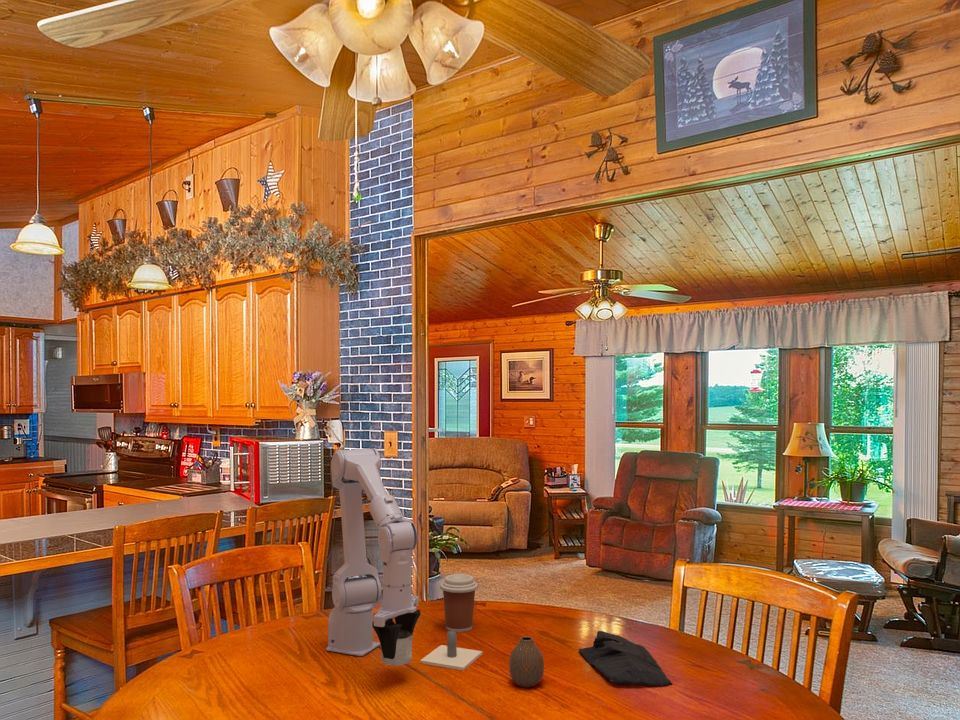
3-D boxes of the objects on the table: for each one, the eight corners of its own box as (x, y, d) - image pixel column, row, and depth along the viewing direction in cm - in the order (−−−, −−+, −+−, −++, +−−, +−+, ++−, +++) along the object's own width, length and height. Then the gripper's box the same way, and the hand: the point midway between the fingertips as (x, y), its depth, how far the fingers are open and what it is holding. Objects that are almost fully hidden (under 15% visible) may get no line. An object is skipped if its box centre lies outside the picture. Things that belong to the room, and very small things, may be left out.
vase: (520, 693, 139) (520, 646, 139) (502, 680, 145) (502, 635, 145) (551, 686, 142) (551, 640, 142) (532, 674, 148) (532, 630, 148)
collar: (377, 662, 143) (377, 637, 143) (391, 653, 148) (391, 628, 148) (402, 667, 141) (402, 641, 141) (415, 657, 146) (415, 632, 146)
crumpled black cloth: (600, 692, 140) (600, 667, 140) (576, 651, 162) (576, 629, 162) (678, 689, 142) (677, 664, 142) (643, 649, 163) (643, 627, 164)
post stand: (420, 663, 154) (420, 636, 154) (441, 647, 163) (441, 622, 163) (463, 670, 150) (463, 642, 150) (482, 654, 159) (482, 628, 159)
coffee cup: (439, 622, 180) (439, 573, 181) (475, 620, 181) (475, 572, 182) (441, 634, 171) (441, 582, 172) (479, 633, 172) (479, 581, 173)
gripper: (396, 595, 137) (396, 668, 136) (431, 576, 150) (431, 643, 150) (364, 591, 140) (363, 663, 139) (401, 572, 153) (401, 638, 152)
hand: (396, 652), depth 145 cm, fingers closed on collar, 5 cm apart
